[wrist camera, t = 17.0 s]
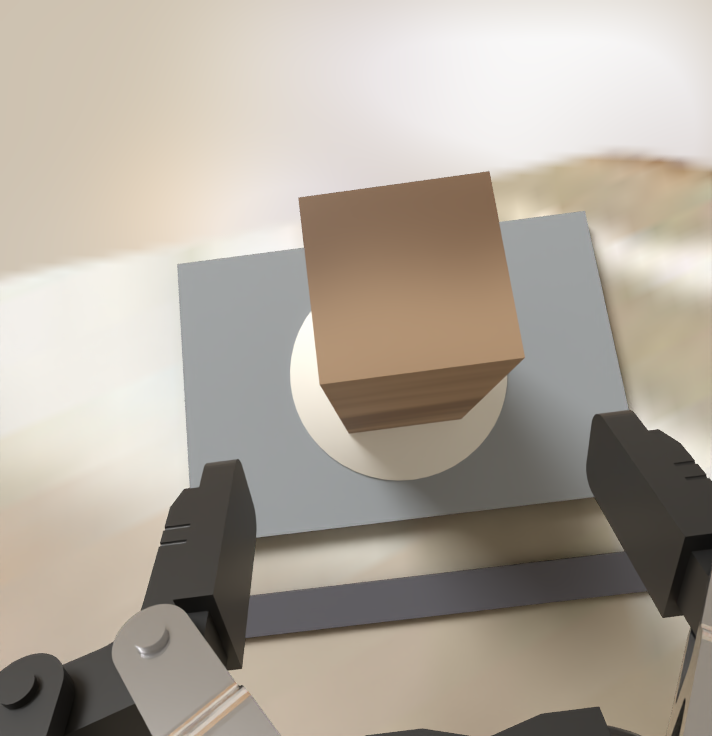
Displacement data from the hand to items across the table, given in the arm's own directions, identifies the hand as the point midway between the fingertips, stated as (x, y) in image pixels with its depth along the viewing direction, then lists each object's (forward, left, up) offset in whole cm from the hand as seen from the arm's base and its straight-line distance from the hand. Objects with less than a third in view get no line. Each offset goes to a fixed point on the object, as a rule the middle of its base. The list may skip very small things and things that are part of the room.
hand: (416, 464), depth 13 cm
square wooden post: (+4, 0, -10) cm, 11 cm away
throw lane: (+2, 0, -11) cm, 11 cm away
